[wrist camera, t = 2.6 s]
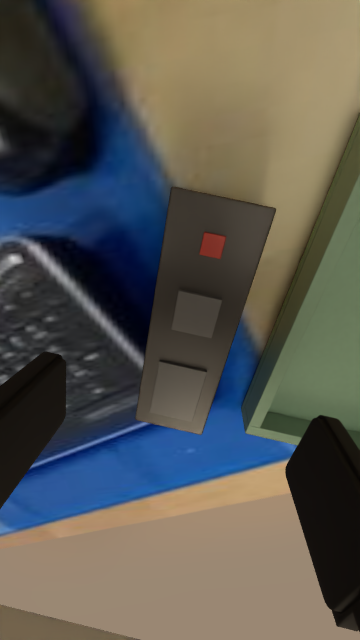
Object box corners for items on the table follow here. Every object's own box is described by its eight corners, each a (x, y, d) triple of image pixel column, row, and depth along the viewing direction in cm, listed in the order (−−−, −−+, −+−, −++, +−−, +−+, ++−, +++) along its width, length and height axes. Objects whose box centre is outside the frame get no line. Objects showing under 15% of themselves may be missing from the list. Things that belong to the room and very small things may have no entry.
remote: (179, 191, 13) (169, 185, 10) (261, 209, 13) (279, 208, 10) (146, 388, 19) (133, 423, 16) (202, 401, 19) (201, 439, 16)
